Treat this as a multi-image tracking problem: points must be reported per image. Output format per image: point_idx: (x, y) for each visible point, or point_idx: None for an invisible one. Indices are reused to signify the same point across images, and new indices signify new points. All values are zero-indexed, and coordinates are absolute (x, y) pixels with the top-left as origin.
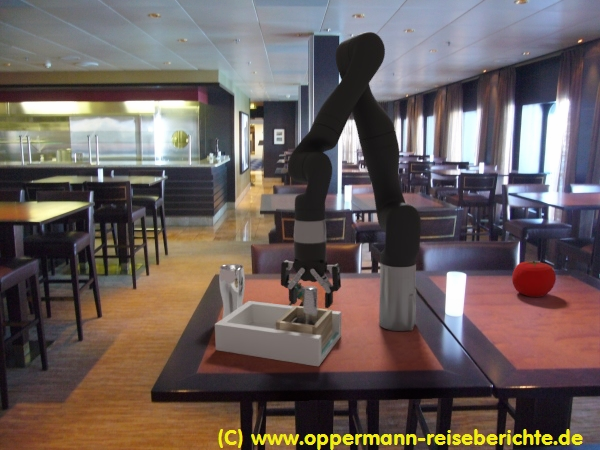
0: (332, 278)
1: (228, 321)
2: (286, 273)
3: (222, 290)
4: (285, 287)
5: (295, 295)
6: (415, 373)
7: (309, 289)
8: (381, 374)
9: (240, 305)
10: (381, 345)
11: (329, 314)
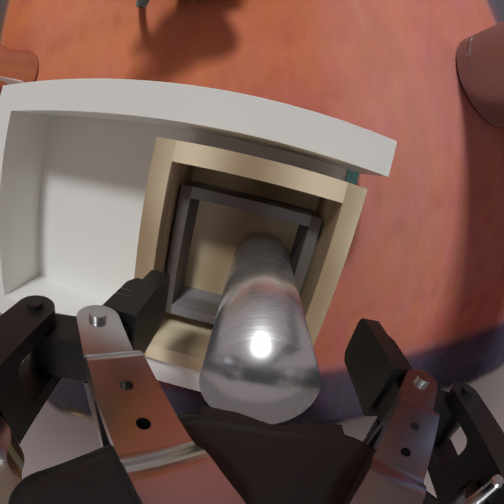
0: (436, 492)
1: (4, 283)
2: (21, 425)
3: None
4: None
5: (152, 315)
6: (472, 345)
7: (257, 409)
8: (419, 363)
9: (3, 74)
10: (458, 217)
11: (352, 233)
